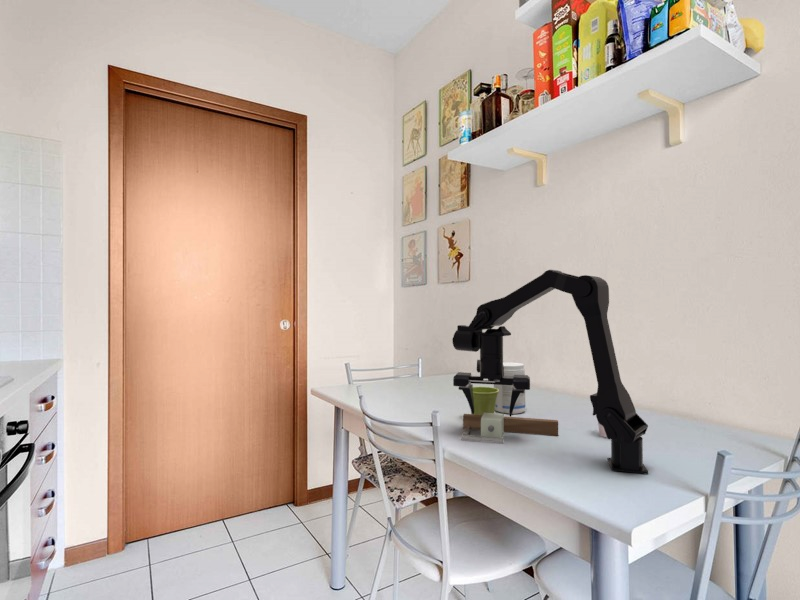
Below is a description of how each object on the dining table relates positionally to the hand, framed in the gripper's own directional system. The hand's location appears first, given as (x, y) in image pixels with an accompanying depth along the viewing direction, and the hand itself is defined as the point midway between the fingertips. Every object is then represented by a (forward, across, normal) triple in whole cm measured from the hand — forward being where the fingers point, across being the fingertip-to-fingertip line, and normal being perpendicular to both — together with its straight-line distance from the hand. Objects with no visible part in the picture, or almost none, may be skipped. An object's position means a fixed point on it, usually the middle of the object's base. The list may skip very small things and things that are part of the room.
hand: (491, 414), depth 112 cm
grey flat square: (+5, +2, +1) cm, 6 cm away
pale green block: (+5, 0, 0) cm, 5 cm away
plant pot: (+6, +4, -15) cm, 17 cm away
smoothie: (+5, -28, -8) cm, 30 cm away
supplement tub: (+6, -3, -28) cm, 29 cm away
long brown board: (+5, -4, -5) cm, 9 cm away
